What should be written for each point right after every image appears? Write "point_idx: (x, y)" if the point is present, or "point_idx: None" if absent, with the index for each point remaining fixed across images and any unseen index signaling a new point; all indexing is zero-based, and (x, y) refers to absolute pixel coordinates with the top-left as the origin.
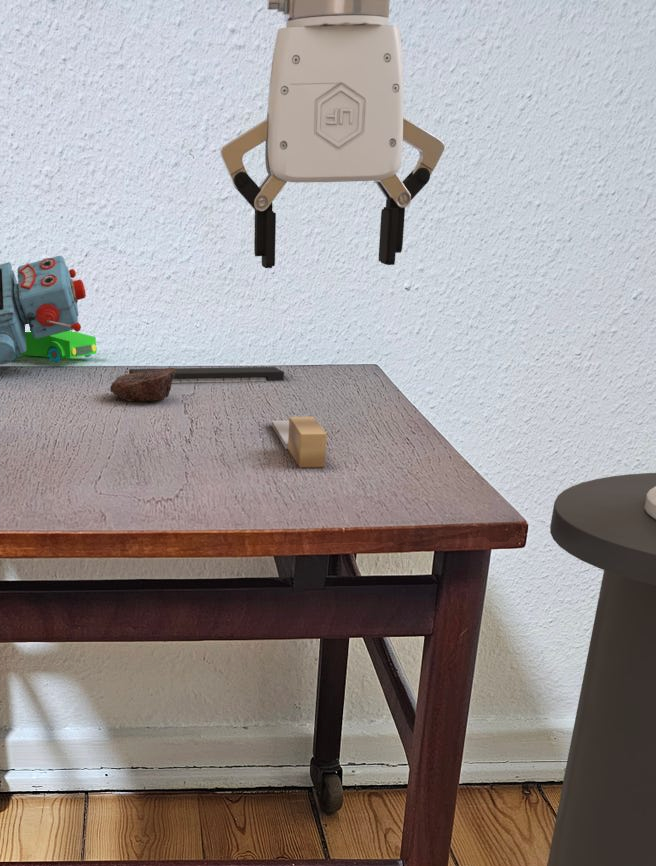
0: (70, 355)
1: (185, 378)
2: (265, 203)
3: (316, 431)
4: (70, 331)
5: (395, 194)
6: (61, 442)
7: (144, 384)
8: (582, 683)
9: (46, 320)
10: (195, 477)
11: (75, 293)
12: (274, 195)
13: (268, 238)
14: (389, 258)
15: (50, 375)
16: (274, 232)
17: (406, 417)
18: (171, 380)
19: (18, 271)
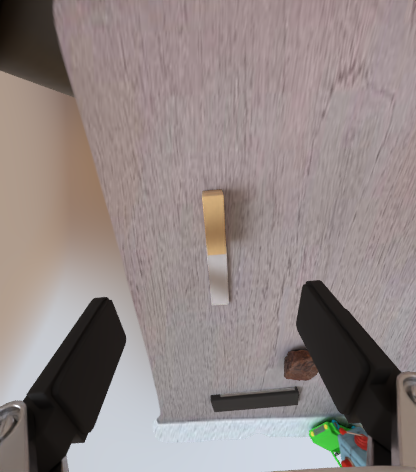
0: (327, 423)
1: (267, 392)
2: (410, 397)
3: (210, 204)
4: (327, 448)
5: (10, 443)
6: (376, 258)
7: (305, 356)
8: (52, 9)
9: (363, 436)
10: (303, 158)
11: (350, 463)
12: (406, 422)
13: (344, 314)
14: (100, 300)
15: None
16: (337, 326)
17: (141, 324)
18: (286, 365)
19: None
